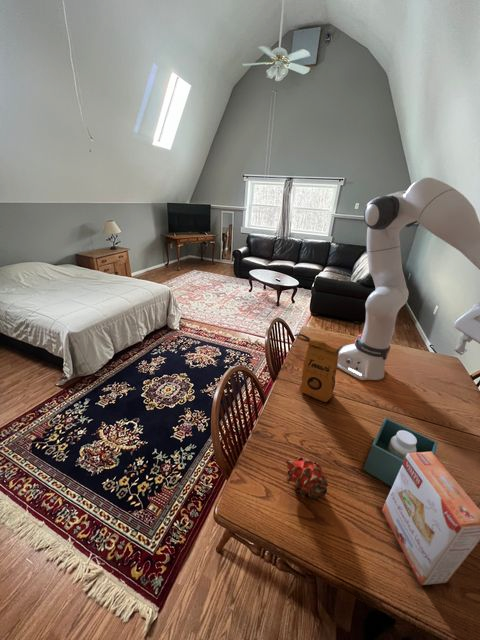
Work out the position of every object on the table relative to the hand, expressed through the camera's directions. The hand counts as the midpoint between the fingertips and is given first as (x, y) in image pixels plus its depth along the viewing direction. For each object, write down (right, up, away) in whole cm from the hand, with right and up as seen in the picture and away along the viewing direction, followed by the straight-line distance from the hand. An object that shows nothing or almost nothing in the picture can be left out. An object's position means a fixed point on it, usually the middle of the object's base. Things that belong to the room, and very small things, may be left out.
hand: (475, 365), depth 64 cm
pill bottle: (-13, -30, +11) cm, 35 cm away
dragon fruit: (-40, -33, +5) cm, 52 cm away
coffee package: (-28, -17, +39) cm, 51 cm away
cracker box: (-19, -39, -5) cm, 43 cm away
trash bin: (-13, -31, +11) cm, 35 cm away
